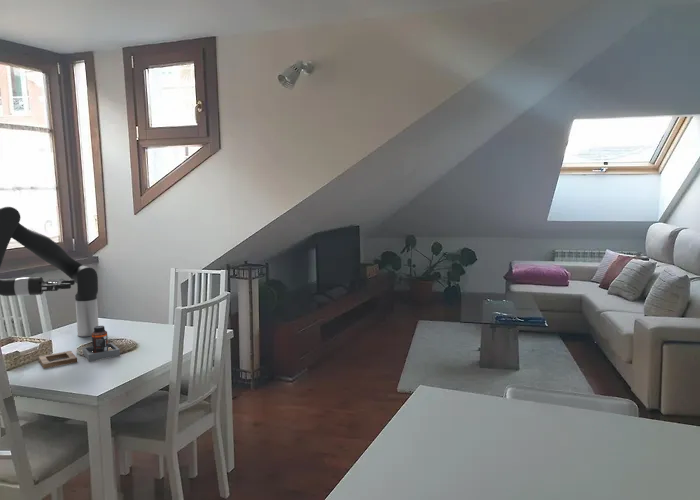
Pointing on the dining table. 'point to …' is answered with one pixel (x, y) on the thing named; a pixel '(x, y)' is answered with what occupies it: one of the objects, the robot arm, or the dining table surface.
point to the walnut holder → (47, 364)
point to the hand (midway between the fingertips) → (72, 283)
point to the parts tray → (100, 353)
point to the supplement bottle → (99, 339)
